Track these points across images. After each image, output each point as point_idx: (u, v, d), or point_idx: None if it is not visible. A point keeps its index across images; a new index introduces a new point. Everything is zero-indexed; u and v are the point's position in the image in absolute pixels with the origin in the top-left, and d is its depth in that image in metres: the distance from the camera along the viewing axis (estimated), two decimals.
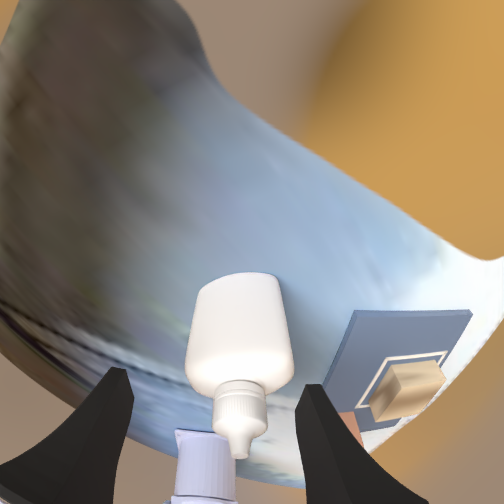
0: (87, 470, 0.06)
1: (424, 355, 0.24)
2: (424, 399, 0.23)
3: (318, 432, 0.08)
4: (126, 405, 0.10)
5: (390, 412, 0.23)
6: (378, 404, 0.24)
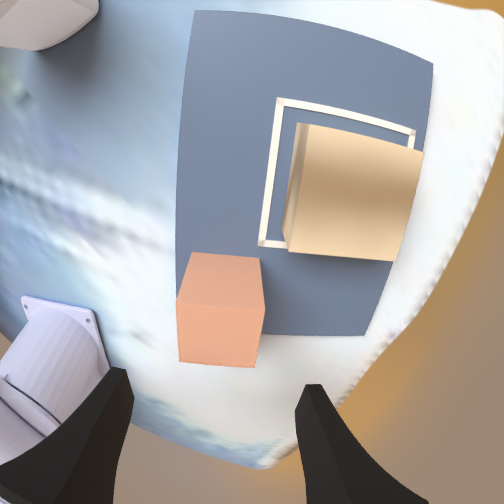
0: (87, 470, 0.06)
1: (365, 118, 0.14)
2: (391, 205, 0.13)
3: (318, 432, 0.08)
4: (126, 405, 0.10)
5: (314, 218, 0.13)
6: (290, 210, 0.14)
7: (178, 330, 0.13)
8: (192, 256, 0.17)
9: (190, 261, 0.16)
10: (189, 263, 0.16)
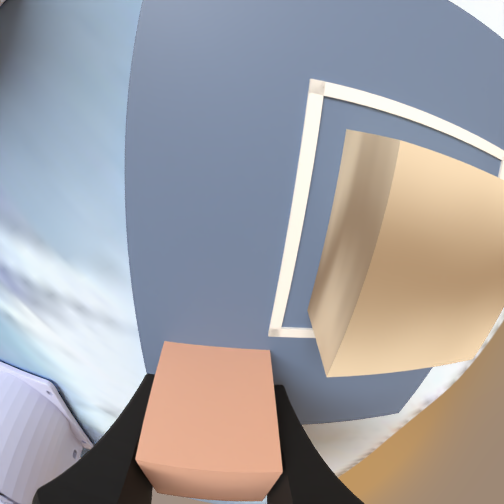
0: (134, 483, 0.06)
1: (453, 129, 0.07)
2: (493, 288, 0.06)
3: None
4: None
5: (380, 326, 0.06)
6: (331, 301, 0.07)
7: (148, 477, 0.07)
8: (164, 351, 0.10)
9: (160, 363, 0.09)
10: (159, 368, 0.09)
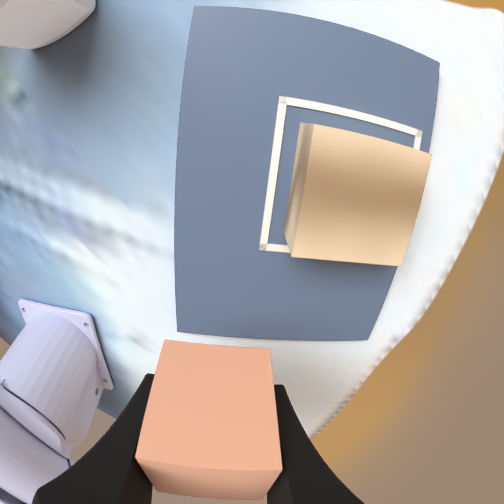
0: (133, 483, 0.06)
1: (371, 118, 0.13)
2: (398, 208, 0.12)
3: None
4: None
5: (318, 222, 0.13)
6: (293, 214, 0.14)
7: (148, 475, 0.07)
8: (164, 349, 0.10)
9: (161, 362, 0.09)
10: (159, 366, 0.09)
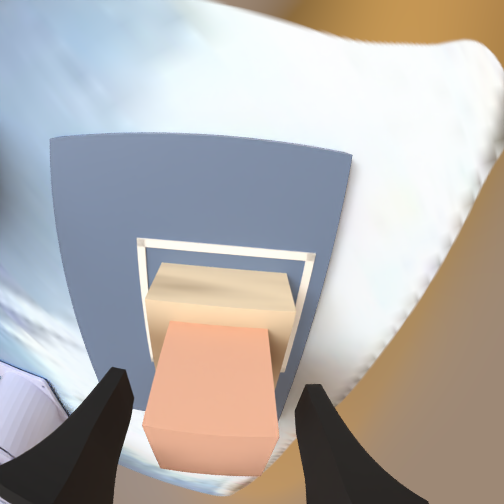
0: (87, 470, 0.06)
1: (241, 251, 0.13)
2: None
3: (318, 432, 0.08)
4: (126, 405, 0.10)
5: None
6: None
7: (153, 447, 0.08)
8: (170, 329, 0.11)
9: (166, 340, 0.10)
10: (165, 344, 0.10)
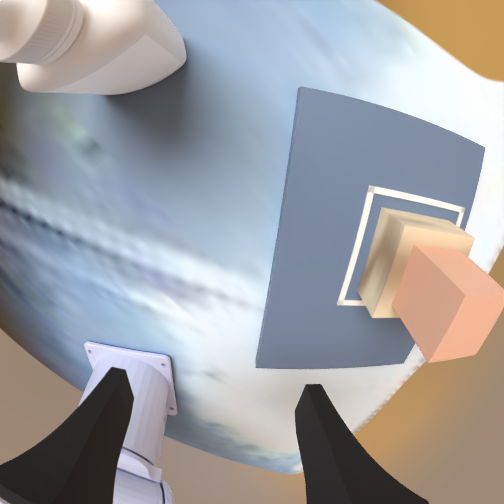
0: (87, 470, 0.06)
1: (431, 202, 0.16)
2: None
3: (318, 432, 0.08)
4: (126, 405, 0.10)
5: (394, 293, 0.15)
6: (373, 283, 0.17)
7: (450, 326, 0.10)
8: (419, 248, 0.14)
9: (425, 254, 0.13)
10: (427, 256, 0.13)
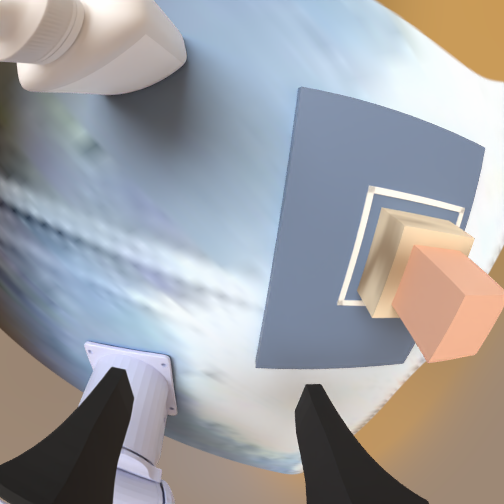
0: (87, 470, 0.06)
1: (431, 202, 0.16)
2: None
3: (318, 432, 0.08)
4: (126, 405, 0.10)
5: (394, 293, 0.15)
6: (373, 284, 0.17)
7: (450, 326, 0.10)
8: (419, 249, 0.14)
9: (425, 254, 0.13)
10: (427, 256, 0.13)
